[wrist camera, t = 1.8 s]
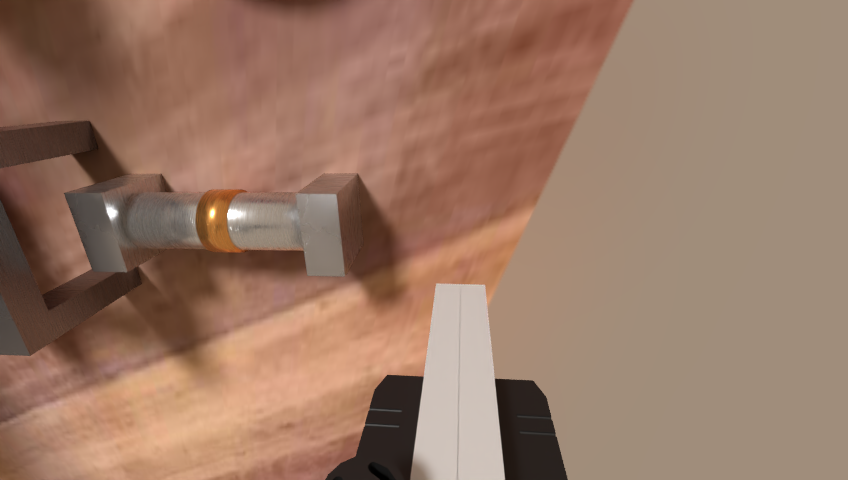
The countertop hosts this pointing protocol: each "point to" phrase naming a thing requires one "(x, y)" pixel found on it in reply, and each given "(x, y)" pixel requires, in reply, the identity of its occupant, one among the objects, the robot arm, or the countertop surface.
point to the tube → (218, 221)
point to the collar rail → (8, 268)
